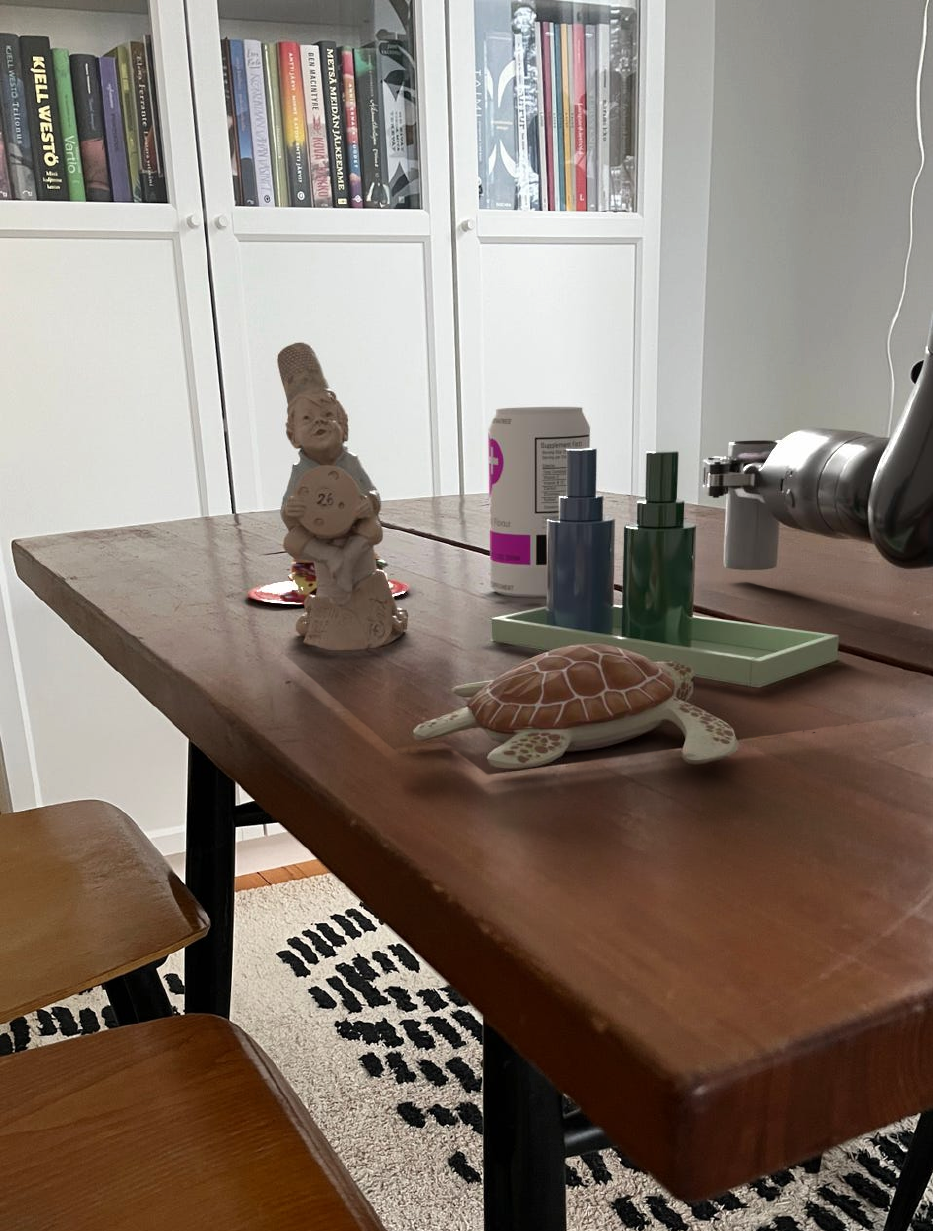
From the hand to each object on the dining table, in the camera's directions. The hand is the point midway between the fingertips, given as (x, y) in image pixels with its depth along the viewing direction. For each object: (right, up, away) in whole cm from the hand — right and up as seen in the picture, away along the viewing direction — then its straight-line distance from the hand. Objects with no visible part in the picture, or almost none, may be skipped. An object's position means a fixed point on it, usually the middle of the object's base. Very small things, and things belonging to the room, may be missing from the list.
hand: (742, 468), depth 106 cm
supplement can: (-18, -11, -1) cm, 21 cm away
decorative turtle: (-18, -27, -43) cm, 54 cm away
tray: (-11, -20, -24) cm, 33 cm away
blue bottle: (-16, -18, -20) cm, 31 cm away
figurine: (-32, -18, -19) cm, 41 cm away
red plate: (-36, -11, +1) cm, 37 cm away
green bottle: (-11, -19, -25) cm, 33 cm away
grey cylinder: (+1, -9, 0) cm, 9 cm away
